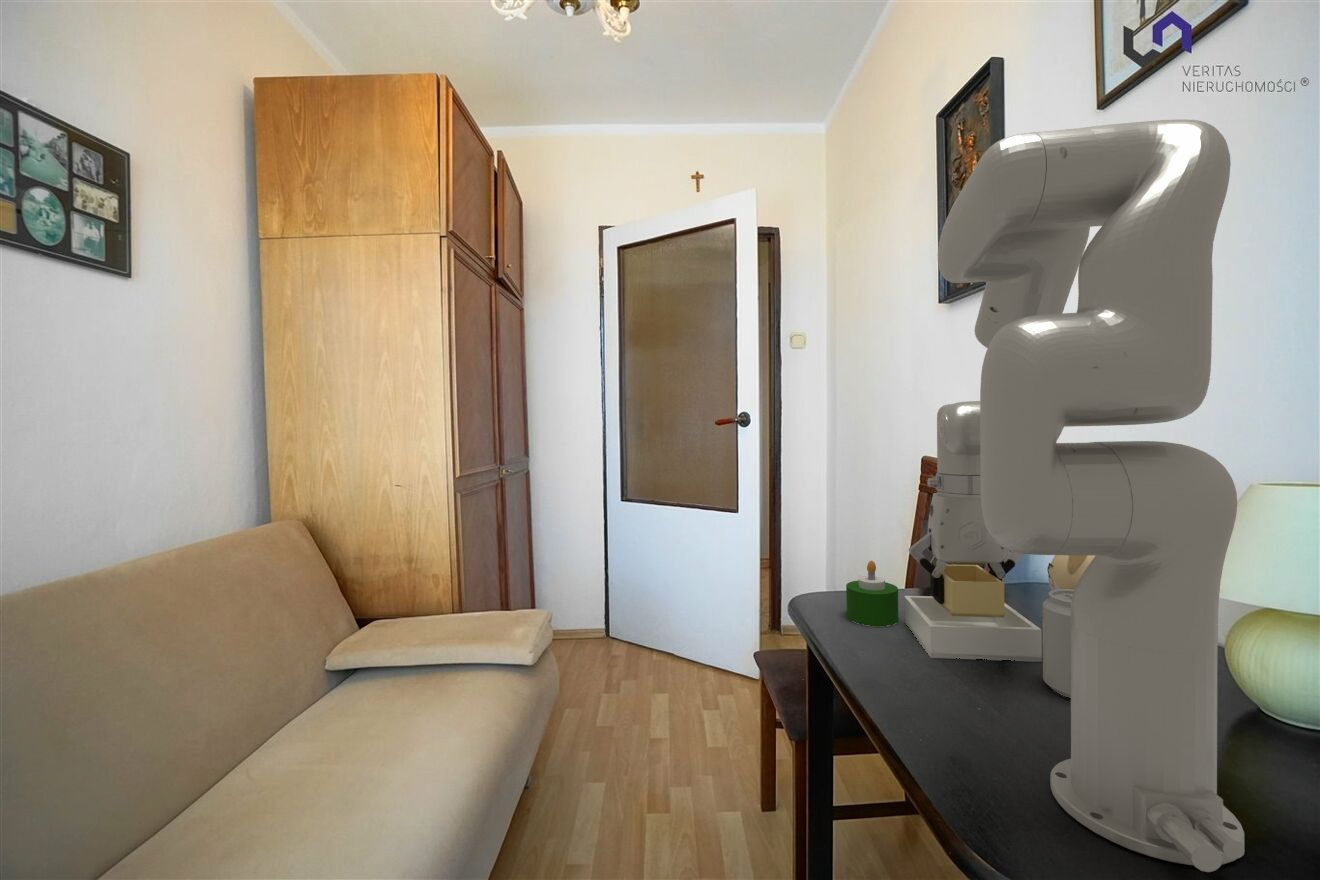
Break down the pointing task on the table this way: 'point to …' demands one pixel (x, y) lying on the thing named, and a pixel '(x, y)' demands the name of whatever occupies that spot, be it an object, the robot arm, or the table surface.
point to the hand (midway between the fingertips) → (965, 601)
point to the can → (1057, 641)
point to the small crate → (972, 592)
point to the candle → (872, 600)
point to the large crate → (972, 633)
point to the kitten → (1067, 570)
